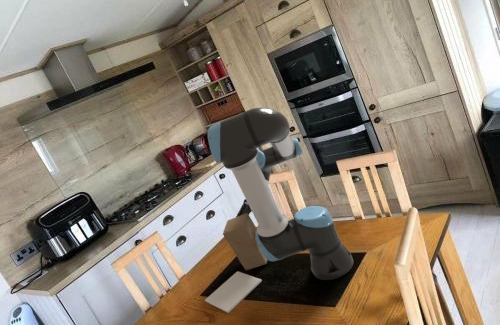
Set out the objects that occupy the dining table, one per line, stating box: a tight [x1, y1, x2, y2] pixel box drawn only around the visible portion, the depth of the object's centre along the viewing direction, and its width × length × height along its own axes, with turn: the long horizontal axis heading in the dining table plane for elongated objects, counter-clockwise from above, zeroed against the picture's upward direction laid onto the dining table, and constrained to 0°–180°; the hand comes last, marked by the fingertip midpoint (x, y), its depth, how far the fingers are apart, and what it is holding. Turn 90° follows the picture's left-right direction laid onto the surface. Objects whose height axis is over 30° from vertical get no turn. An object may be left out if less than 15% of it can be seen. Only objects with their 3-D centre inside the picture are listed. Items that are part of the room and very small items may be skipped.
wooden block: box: [222, 213, 268, 271], centre depth 154 cm, size 10×10×20 cm
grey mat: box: [204, 271, 263, 314], centre depth 144 cm, size 16×18×1 cm
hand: (247, 239), depth 155 cm, fingers closed on wooden block, 13 cm apart
